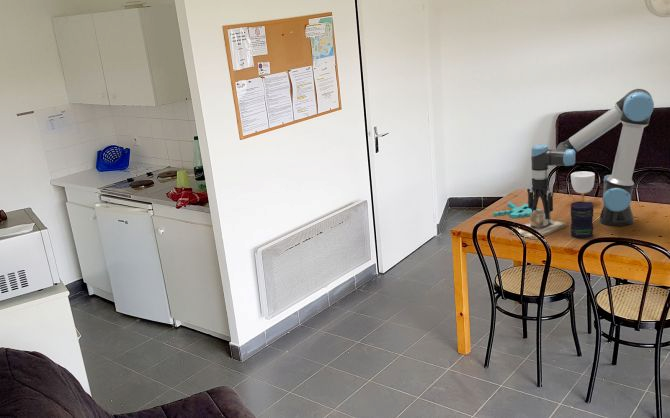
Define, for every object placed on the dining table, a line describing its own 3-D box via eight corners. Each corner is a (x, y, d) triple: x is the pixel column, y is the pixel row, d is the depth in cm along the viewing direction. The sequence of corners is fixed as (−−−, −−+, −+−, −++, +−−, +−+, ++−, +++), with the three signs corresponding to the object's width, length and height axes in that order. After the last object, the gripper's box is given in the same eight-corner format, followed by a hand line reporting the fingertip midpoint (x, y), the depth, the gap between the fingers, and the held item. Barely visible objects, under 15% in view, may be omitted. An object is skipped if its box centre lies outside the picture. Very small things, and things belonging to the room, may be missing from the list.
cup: (571, 202, 355) (570, 171, 350) (594, 202, 351) (594, 171, 346) (570, 208, 345) (570, 177, 340) (594, 208, 340) (595, 176, 336)
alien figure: (493, 216, 347) (530, 220, 335) (493, 212, 346) (530, 216, 334) (508, 206, 362) (544, 209, 350) (508, 202, 361) (544, 205, 349)
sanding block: (550, 223, 321) (550, 210, 319) (539, 228, 316) (539, 215, 314) (542, 221, 325) (541, 208, 323) (530, 226, 320) (530, 213, 318)
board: (566, 226, 320) (566, 223, 319) (535, 240, 306) (535, 236, 306) (539, 220, 331) (539, 217, 331) (509, 233, 318) (509, 230, 317)
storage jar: (592, 239, 299) (592, 207, 295) (569, 238, 303) (569, 207, 299) (593, 232, 308) (593, 201, 304) (571, 231, 312) (571, 201, 308)
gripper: (561, 178, 308) (561, 225, 315) (529, 173, 323) (530, 218, 329) (551, 182, 304) (551, 229, 311) (519, 176, 318) (520, 222, 325)
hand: (540, 223), depth 320 cm, fingers closed on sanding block, 5 cm apart
